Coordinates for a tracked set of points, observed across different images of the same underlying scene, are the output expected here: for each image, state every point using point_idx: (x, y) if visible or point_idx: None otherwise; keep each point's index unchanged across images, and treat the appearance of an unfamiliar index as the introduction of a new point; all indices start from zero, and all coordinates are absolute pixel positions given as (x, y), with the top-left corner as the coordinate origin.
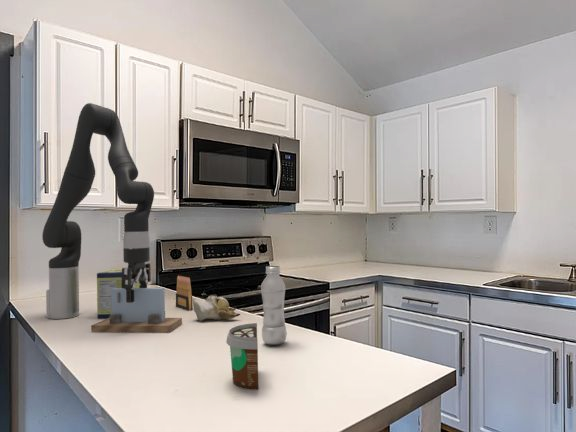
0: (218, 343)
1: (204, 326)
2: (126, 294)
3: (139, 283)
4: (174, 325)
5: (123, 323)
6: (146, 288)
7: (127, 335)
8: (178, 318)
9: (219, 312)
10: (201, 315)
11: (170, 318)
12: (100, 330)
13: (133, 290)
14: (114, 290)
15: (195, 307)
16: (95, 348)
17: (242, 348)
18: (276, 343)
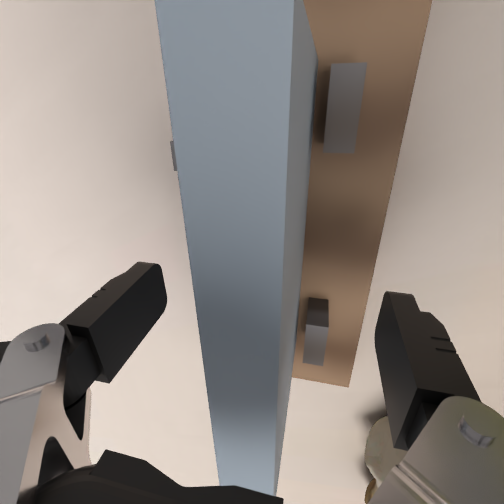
0: (154, 435)
1: (307, 420)
2: (80, 306)
3: (432, 415)
4: None
5: None
6: (246, 440)
7: (172, 218)
8: (336, 378)
9: (371, 492)
10: (366, 443)
11: (341, 352)
12: None
13: (96, 376)
14: (176, 74)
15: (395, 462)
16: (16, 176)
17: None
18: None
